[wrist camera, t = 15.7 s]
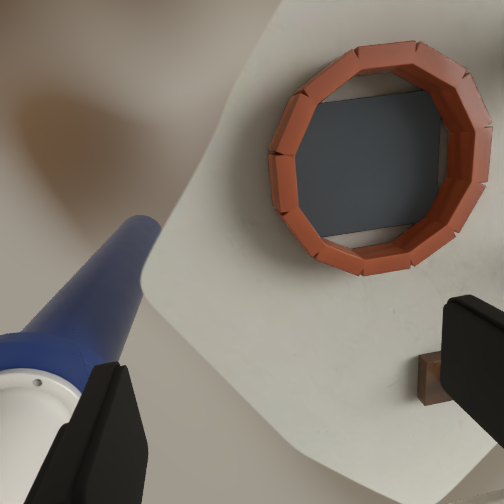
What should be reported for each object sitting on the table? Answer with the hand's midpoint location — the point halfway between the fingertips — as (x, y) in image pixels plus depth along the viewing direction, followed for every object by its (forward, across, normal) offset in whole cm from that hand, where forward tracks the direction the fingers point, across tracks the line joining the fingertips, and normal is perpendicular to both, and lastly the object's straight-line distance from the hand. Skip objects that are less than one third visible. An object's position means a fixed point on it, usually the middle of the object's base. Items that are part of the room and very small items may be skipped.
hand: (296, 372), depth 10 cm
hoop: (+23, -14, -3) cm, 27 cm away
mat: (+24, -14, -3) cm, 27 cm away
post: (+24, -23, +22) cm, 40 cm away
